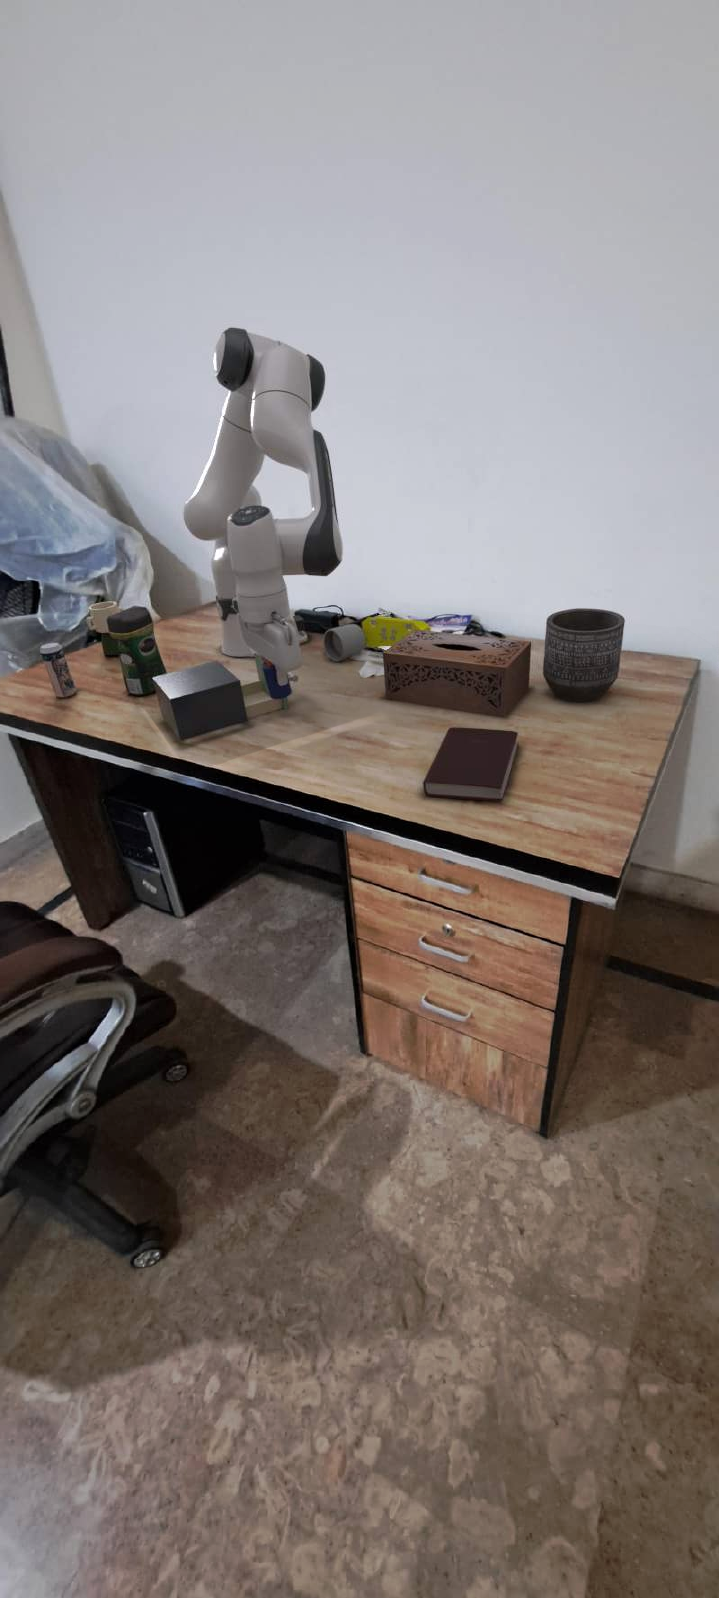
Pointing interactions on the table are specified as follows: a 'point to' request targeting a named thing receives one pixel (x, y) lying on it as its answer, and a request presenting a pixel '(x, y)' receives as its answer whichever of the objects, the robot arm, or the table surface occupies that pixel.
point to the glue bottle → (273, 686)
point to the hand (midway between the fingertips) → (276, 679)
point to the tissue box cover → (458, 671)
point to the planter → (582, 653)
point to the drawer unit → (200, 699)
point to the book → (472, 764)
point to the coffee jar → (136, 649)
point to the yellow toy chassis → (389, 630)
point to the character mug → (103, 623)
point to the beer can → (58, 669)
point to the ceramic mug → (344, 641)
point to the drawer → (262, 693)
